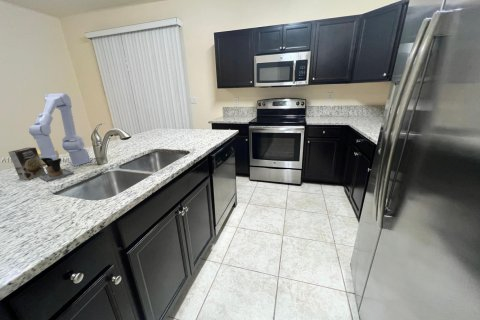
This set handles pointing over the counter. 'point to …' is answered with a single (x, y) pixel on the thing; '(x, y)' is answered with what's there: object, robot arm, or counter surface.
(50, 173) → the letter cube
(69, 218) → the counter surface
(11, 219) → the counter surface
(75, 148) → the robot arm
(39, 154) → the tan lumpy round piece
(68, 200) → the counter surface
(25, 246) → the counter surface
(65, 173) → the slate gray tray
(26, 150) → the coffee box
